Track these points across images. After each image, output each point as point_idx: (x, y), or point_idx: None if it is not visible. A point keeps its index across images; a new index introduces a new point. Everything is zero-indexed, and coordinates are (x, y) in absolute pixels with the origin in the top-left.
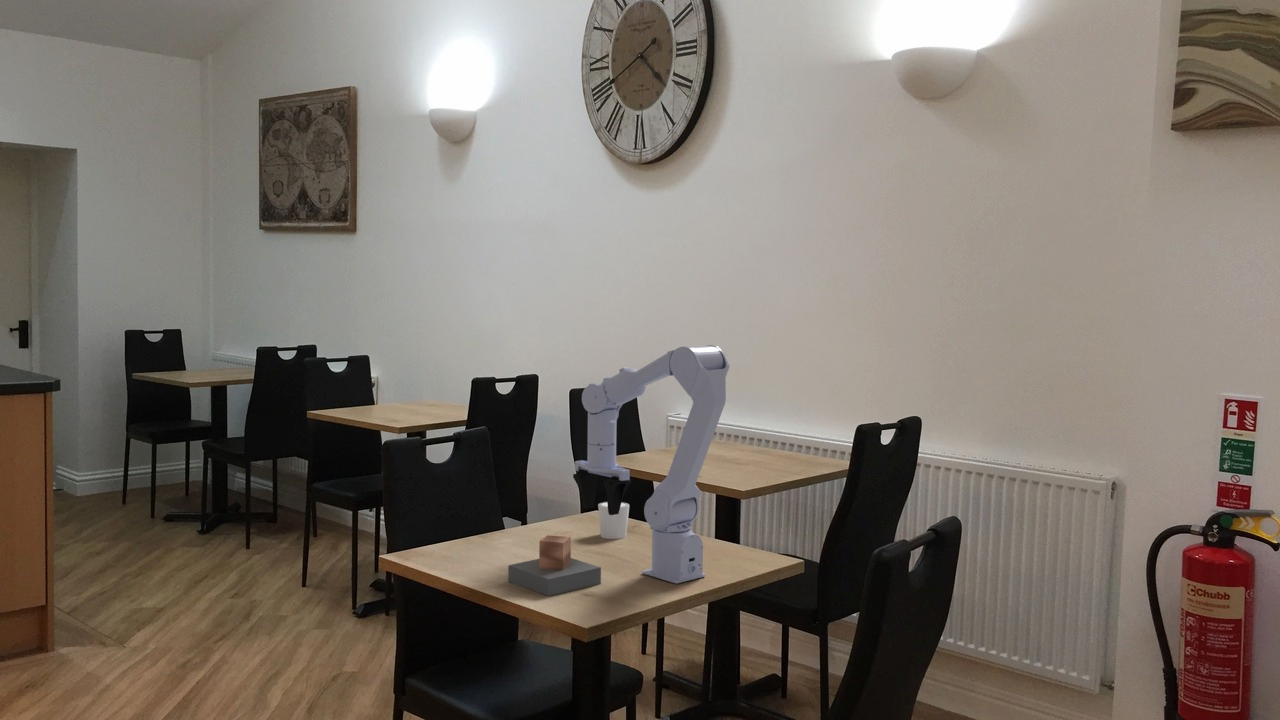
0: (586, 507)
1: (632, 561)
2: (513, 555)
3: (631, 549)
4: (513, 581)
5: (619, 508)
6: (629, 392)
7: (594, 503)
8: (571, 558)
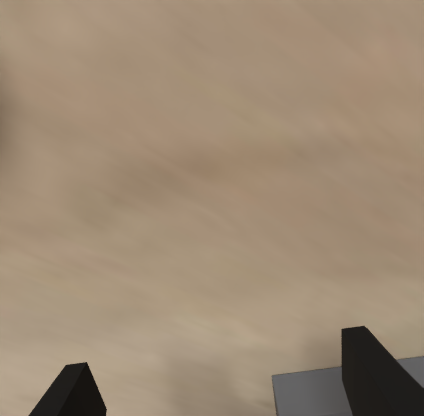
0: (103, 414)
1: (337, 136)
2: None
3: (152, 12)
4: None
5: (387, 354)
6: None
7: (76, 380)
8: (345, 413)
